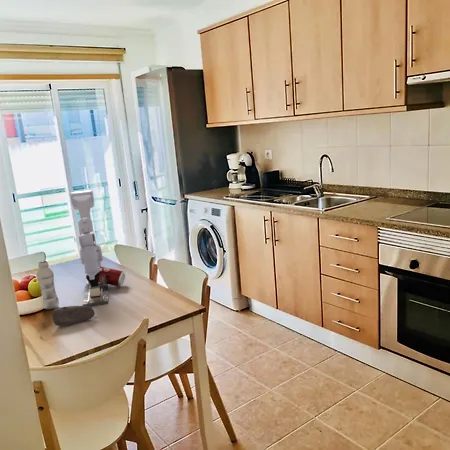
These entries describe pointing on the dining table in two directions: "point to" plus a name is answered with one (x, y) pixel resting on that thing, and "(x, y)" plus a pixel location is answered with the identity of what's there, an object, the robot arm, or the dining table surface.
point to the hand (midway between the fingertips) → (95, 290)
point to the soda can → (111, 276)
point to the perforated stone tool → (72, 315)
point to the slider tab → (94, 291)
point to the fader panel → (96, 300)
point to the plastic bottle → (47, 285)
